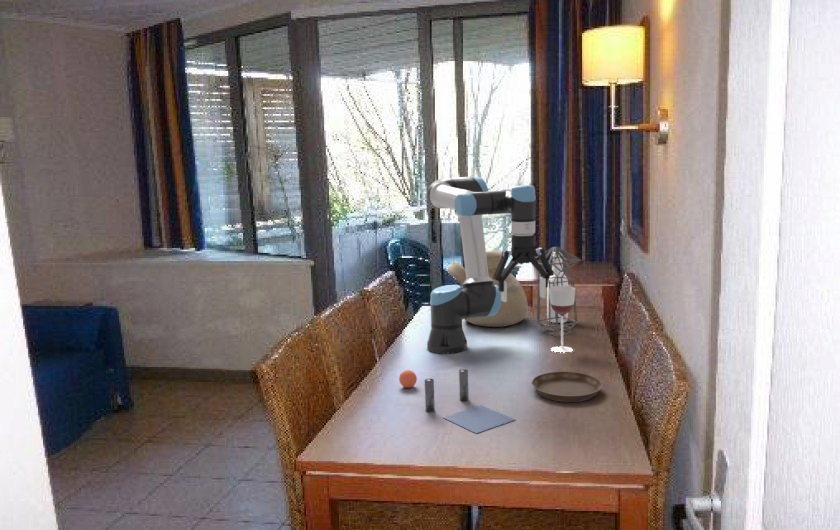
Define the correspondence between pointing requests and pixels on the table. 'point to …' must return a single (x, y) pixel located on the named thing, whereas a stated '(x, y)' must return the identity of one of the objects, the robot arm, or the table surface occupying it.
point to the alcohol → (556, 271)
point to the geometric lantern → (557, 252)
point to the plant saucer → (566, 386)
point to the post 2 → (463, 384)
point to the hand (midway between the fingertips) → (523, 299)
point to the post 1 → (429, 395)
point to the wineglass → (562, 308)
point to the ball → (407, 378)
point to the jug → (508, 310)
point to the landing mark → (479, 419)
